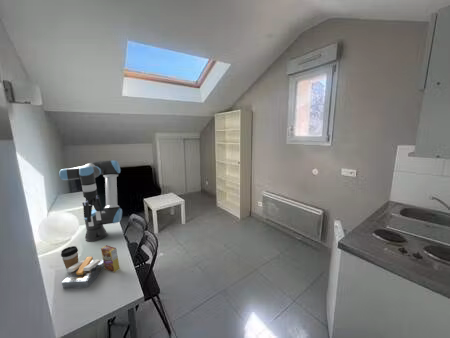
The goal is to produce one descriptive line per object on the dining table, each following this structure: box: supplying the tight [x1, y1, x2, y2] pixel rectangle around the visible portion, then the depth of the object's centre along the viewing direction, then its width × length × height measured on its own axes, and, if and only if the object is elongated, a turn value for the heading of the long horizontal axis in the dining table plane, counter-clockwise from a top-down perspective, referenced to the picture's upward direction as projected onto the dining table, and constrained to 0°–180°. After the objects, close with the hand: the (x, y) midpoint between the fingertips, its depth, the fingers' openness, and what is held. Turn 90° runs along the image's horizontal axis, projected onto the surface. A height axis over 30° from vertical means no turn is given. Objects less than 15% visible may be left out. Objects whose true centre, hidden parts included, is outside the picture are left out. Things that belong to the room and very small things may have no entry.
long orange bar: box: [76, 256, 94, 275], centre depth 117 cm, size 11×3×2 cm, turn 3°
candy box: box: [100, 244, 120, 273], centre depth 122 cm, size 9×4×15 cm, turn 69°
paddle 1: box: [68, 259, 85, 272], centre depth 117 cm, size 11×3×2 cm, turn 3°
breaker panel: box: [61, 259, 105, 289], centre depth 118 cm, size 18×14×5 cm
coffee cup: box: [60, 245, 79, 274], centre depth 122 cm, size 8×8×15 cm
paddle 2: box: [84, 259, 102, 271], centre depth 118 cm, size 11×3×2 cm, turn 3°
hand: (95, 222), depth 128 cm, fingers open, 8 cm apart
